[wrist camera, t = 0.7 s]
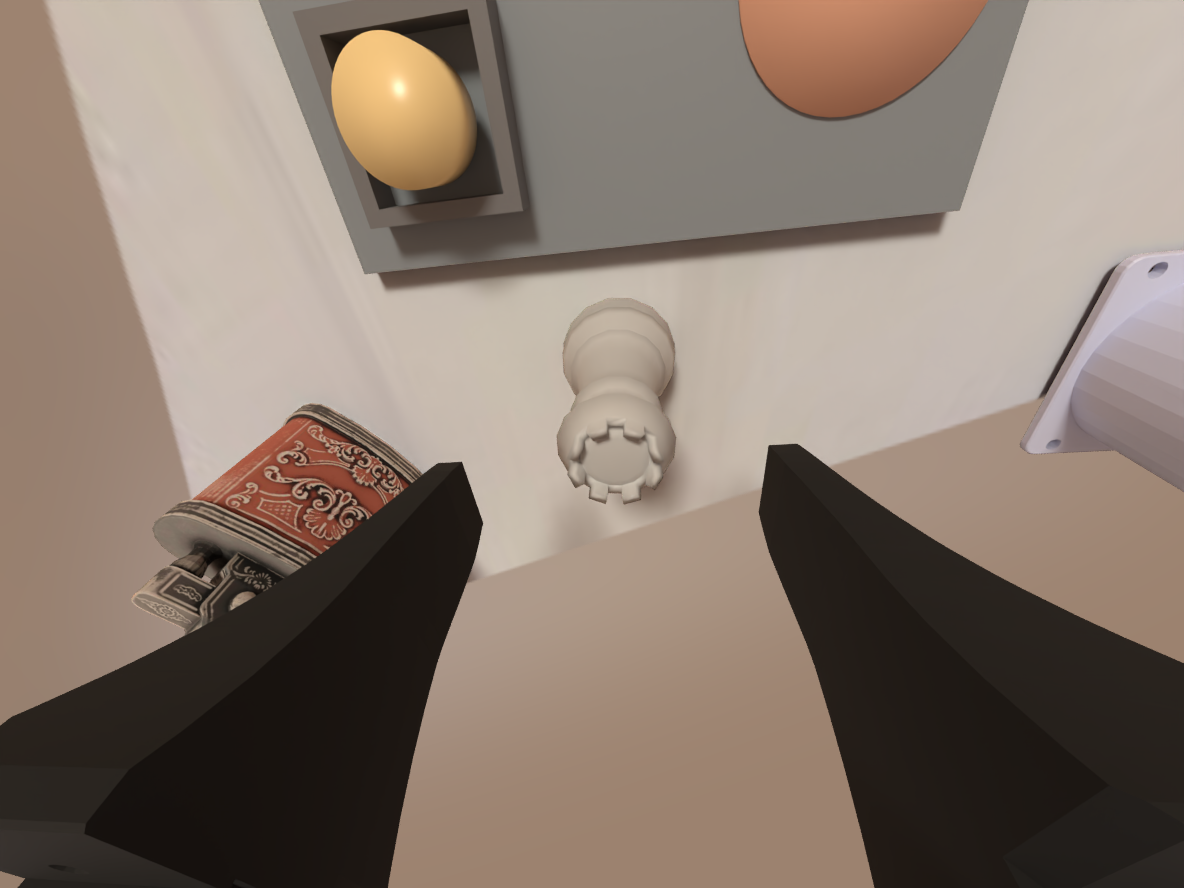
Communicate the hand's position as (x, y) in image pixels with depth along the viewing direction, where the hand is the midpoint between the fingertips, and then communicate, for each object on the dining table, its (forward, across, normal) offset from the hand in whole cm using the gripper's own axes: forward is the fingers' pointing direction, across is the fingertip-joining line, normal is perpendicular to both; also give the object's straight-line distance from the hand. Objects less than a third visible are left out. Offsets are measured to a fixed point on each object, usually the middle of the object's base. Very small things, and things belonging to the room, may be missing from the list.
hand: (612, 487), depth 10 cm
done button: (+7, +5, -8) cm, 12 cm away
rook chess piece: (+9, 0, 0) cm, 9 cm away
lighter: (+9, +13, +5) cm, 17 cm away
